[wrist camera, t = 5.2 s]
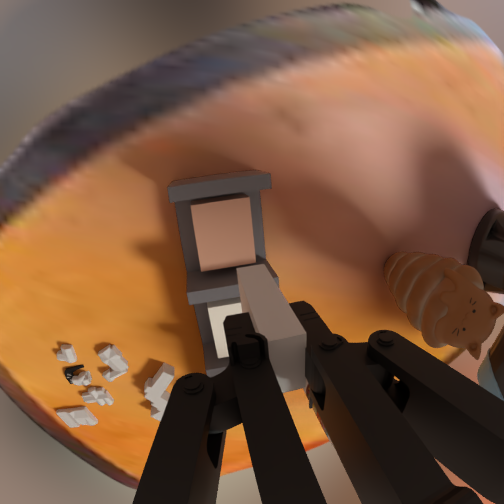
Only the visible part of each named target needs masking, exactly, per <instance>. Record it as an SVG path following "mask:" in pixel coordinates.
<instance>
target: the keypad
mask: <svg viewBox="0 0 504 504" xmlns="http://www.w3.org/2000/svg"><path fill="white" fill-rule="evenodd" d="M271 188H272V186H271V174H270V173H267V172H263V171H259V170H249V171H240V172H232V173H224V174H216V175H209V176H202V177H195V178H189V179H183V180H176V181H172V182H171V184H170V185H169V186H168V187H167V189H168V195H169V202H170V203H172V202H175V208H176V214H177V220H178V226H179V232H180V238H181V243H182V249H183V254H184V260H185V265H186V270H187V297H188V301H189V305H193V304H194V308H195V313H196V317H197V321H198V326H199V330H200V334H201V338H202V343H203V350H204V360H205V369H206V373H207V376H209V377H210V378H211V377H213V376H215V375H218V374H219V373H221V372H223V371H224V370H225V369H226V368H227V366H228V364H229V357H223V358H218V355H217V350H216V346H215V341H214V337H213V332H212V327H211V322H210V317H209V312H208V307H207V302H211V301H217V300H223V299H229V298H235V297H240V292H239V285H238V277H237V269H236V268H241V267H247V266H253V265H259V264H265V266H266V268H267V269H268V271H269V272H270V274H271V276H272V277H273V279H274V281H275V282H276V284H277V286H278V287H279V278H278V276H277V274H276V273H275V272H274V270H273V269H272V267H271V266H270V264H269V263H268V261H267V260H266V254H265V243H264V231H263V220H262V209H261V198H260V190H263V189H271ZM244 193H245V194H246V195H247V196H249V197H250V207H251V217H252V227H253V237H254V247H255V257H256V263H251V264H245V265H239V266H233V267H227V268H221V269H215V270H209V271H203V272H201V267H200V261H199V256H198V250H197V244H196V238H195V231H194V225H193V219H192V212H191V201H195V200H201V199H208V198H215V197H222V196H229V195H236V194H244Z"/></svg>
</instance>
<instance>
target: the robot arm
mask: <svg viewBox="0 0 504 504" xmlns="http://www.w3.org/2000/svg"><path fill="white" fill-rule="evenodd" d="M468 265H469V266H471V267H473V268H475V269H476V270H477V271H478V273H479V274H480V276H481V278H482V281H483V285H484V289H483V290H484V291H485V292H492V293H498V294H504V211H503V210H500V209H492V210H490V211H489V212H488V213H487V214H486V215H485V216H484V217H483V219H482V220H481V222H480V224H479V226H478V228H477V230H476V232H475V235H474V238H473V241H472V244H471V248H470V252H469V258H468ZM236 269H237V277H238V285H239V292H240V300H241V307H242V313H240V314H234V315H228V316H226V318H225V320H224V322H223V326H224V332H225V337H226V343H227V349H228V355H229V364H228V366H227V368H226V369H225V370H224V371H223V372H221V373H219V374H218V375H215V376H213V377H211V378H210V377H209V376H207V375H205V374H201V373H190V374H187V375H184V376H182V377H181V378H179V379H178V380H177V381H176V383H175V384H174V386H173V389H172V391H171V394H170V397H169V399H168V402H167V405H166V408H165V410H164V413H163V416H162V419H161V422H160V424H159V427H158V430H157V433H156V436H155V439H154V441H153V444H152V447H151V450H150V453H149V456H148V459H147V462H146V465H145V467H144V470H143V473H142V476H141V479H140V482H139V485H138V488H137V491H136V495H135V497H134V501H133V504H216V498H217V491H218V484H219V478H220V471H221V465H222V458H223V451H224V445H225V438H226V430H228V429H230V428H232V427H234V426H237V425H239V424H241V423H243V427H244V431H245V436H246V440H247V444H248V449H249V453H250V457H251V461H252V465H253V469H254V473H255V477H256V481H257V485H258V489H259V493H260V497H261V501H262V504H327V503H326V500H325V498H324V496H323V493H322V491H321V488H320V486H319V484H318V481H317V479H316V476H315V474H314V472H313V469H312V467H311V464H310V462H309V459H308V457H307V454H306V452H305V449H304V447H303V444H302V442H301V439H300V437H299V434H298V432H297V429H296V427H295V424H294V421H293V419H292V416H291V414H290V411H289V409H288V406H287V404H286V401H285V398H284V396H283V393H284V392H289V391H293V390H297V389H301V388H305V387H306V379H307V381H308V383H309V385H310V393H309V408H312V406H313V403H314V405H315V408H316V410H317V412H318V414H319V416H320V418H321V420H322V422H323V424H324V426H325V429H326V431H327V433H328V435H329V437H330V439H331V441H332V443H333V445H334V447H335V449H336V451H337V453H338V455H339V457H340V460H341V462H342V464H343V466H344V468H345V470H346V472H347V474H348V476H349V478H350V480H351V482H352V484H353V486H354V488H355V490H356V492H357V495H358V497H359V499H360V501H361V503H362V504H483V503H482V501H481V500H480V498H479V497H478V496H477V494H476V493H475V492H474V491H473V490H472V489H470V488H468V487H459V486H455V485H453V484H452V483H451V481H450V480H449V478H448V477H447V476H446V475H445V473H444V471H443V470H442V469H441V467H440V466H439V464H438V463H437V462H436V460H435V459H437V460H438V461H439V462H441V463H442V464H443V465H444V466H445V467H447V468H448V469H449V470H450V471H451V472H453V473H454V474H455V475H457V476H458V477H459V478H460V479H462V480H463V481H464V482H465V483H467V484H468V485H469V486H470V487H472V488H473V489H474V490H476V491H477V492H478V493H479V494H481V495H482V496H483V497H485V498H486V499H488V500H489V501H491V502H493V503H495V504H504V326H503V327H502V329H501V331H500V333H499V335H498V336H497V338H496V340H495V342H494V343H493V345H492V347H491V348H489V350H488V352H487V355H486V357H485V358H484V360H483V362H482V364H481V365H480V367H479V369H478V374H477V376H478V382H479V385H478V384H476V383H475V382H473V381H471V380H470V379H469V378H467V377H465V376H464V375H462V374H461V373H459V372H458V371H456V370H454V369H453V368H451V367H450V366H448V365H447V364H445V363H443V362H442V361H440V360H439V359H437V358H436V357H434V356H432V355H431V354H429V353H428V352H426V351H425V350H423V349H421V348H420V347H418V346H417V345H415V344H413V343H412V342H410V341H409V340H407V339H406V338H404V337H402V336H401V335H399V334H398V333H395V332H393V331H389V330H379V331H376V332H373V333H372V334H371V335H370V337H369V339H368V342H363V343H348V342H347V340H346V339H345V338H344V337H342V336H340V335H338V334H332V332H331V331H330V330H329V328H328V327H327V326H326V324H325V323H324V322H323V320H322V319H321V318H320V316H319V315H318V313H316V311H315V309H314V308H313V307H312V305H310V304H308V303H306V302H305V301H299V302H294V303H289V304H288V302H287V300H286V299H285V297H284V295H283V294H282V292H281V290H280V289H279V287H278V286H277V284H276V282H275V281H274V279H273V277H272V276H271V274H270V272H269V271H268V269H267V268H266V266H265V264H259V265H253V266H247V267H241V268H236ZM394 376H396V377H397V378H398V379H400V381H397V380H395V379H394ZM434 458H435V459H434Z"/></svg>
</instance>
